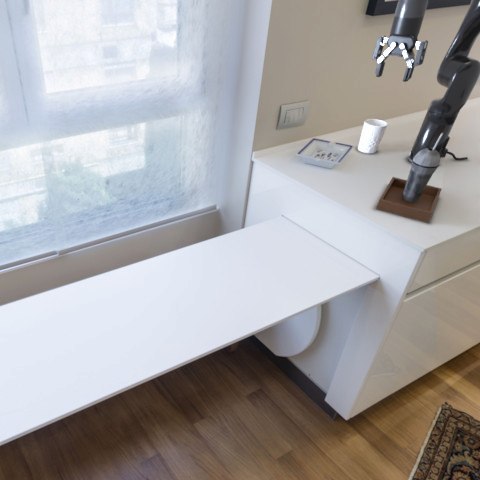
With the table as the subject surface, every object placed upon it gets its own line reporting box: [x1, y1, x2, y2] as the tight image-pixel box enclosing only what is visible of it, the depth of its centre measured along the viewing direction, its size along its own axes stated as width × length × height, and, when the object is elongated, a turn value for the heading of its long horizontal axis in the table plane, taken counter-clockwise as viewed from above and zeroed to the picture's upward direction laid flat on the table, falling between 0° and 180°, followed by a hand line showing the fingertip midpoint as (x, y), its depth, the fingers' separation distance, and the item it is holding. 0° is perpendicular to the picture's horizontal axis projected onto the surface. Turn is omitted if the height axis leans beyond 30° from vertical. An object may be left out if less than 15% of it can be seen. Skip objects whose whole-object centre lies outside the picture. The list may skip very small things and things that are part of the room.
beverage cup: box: [402, 133, 443, 202], centre depth 129 cm, size 7×7×20 cm
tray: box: [375, 176, 442, 224], centre depth 134 cm, size 19×15×3 cm
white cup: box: [357, 118, 389, 154], centre depth 162 cm, size 8×8×10 cm
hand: (391, 78), depth 132 cm, fingers open, 8 cm apart
